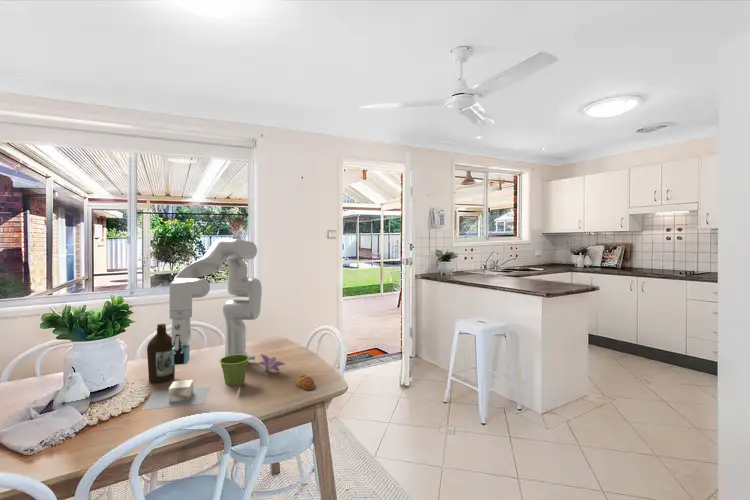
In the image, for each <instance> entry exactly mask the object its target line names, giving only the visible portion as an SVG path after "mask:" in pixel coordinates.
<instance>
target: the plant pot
mask: <svg viewBox="0 0 750 500" xmlns="http://www.w3.org/2000/svg"><path fill="white" fill-rule="evenodd" d="M247 355H248V354H247ZM247 355H243V354H236V355H229V356H225V355H224V356H222V357H221V358H220V359H219V363H220V365H221V368H222V373H223V378H224V383H225V385H228V386H236V385H238V387H242V386H244V384H245V378H246V371H247V365H248V364H249V363H248V360H249V356H247ZM249 361H250V360H249ZM247 363H248V364H247Z"/></svg>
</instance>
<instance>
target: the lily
mask: <svg viewBox="0 0 750 500" xmlns="http://www.w3.org/2000/svg"><path fill="white" fill-rule="evenodd" d="M260 356H261V358H262V360H263V361H258V362H257V365H262V366H264V367H265V371H266V370H268V371H267V373H266V378H267V377H268V378H269V373H270V370H272V369H273V370H275V371H277V372H278V371H280V372H281V370H280V368H279V367H281V366H286V365H287V363H285V362H283V361H280V360H277V357H276V356H273V357H271V358H270V357H269V356H268V355H265V354H264V353H261V354H260Z"/></svg>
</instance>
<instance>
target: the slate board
mask: <svg viewBox="0 0 750 500" xmlns="http://www.w3.org/2000/svg"><path fill="white" fill-rule="evenodd" d="M210 388H211V386H200V387H193V394H192V396H191V398H190V400H184V401H174V402H169V389H168V390H167V389H166V390H155V391H154V392H153V393H152V395H151V396H150V397H149V399H148V400H147V401H146V403H145V404H144V405H143V407H142V409H141V411H143V410H144V411H145V410H153V409H154V410H155V409H156V410H157V409H165V408H174V407H175V408H177V407H185V406H187V407H188V406H196V405H197V406H198V405H204V403H205V401H206V398H207V396H208V393H209V392H210Z"/></svg>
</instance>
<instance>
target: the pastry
mask: <svg viewBox="0 0 750 500" xmlns="http://www.w3.org/2000/svg"><path fill="white" fill-rule="evenodd" d="M295 385H296V386H297V388H299V387H300V389H301V388H302V389H301V390H305V391H309V390H312V389H314V388H315V381H314V379H313V378H312V377H311V376H309V375H306V374H301V375H300V376H298V377H297V378H296V380H295Z"/></svg>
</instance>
